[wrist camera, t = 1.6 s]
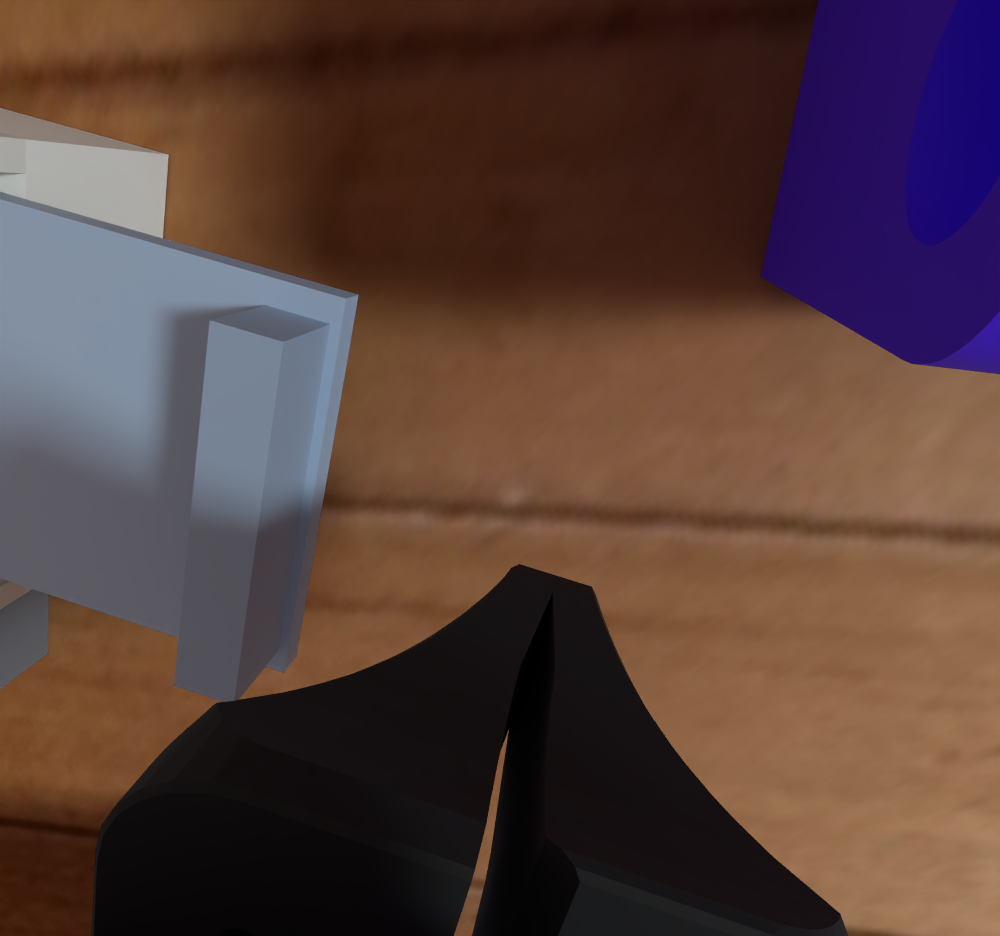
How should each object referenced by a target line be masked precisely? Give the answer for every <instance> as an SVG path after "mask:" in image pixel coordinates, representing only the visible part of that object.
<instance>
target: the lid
mask: <svg viewBox="0 0 1000 936" xmlns="http://www.w3.org/2000/svg"><path fill="white" fill-rule="evenodd" d="M357 301H358V294H355V293H351V292H348V291H344V290H341V289H337V288H334V287H330V286H327V285H323V284H320V283H316V282H313V281H309V280H306V279H302V278H299V277H295V276H292V275H288V274H285V273H281V272H278V271H274V270H271V269H268V268H264V267H261V266H257V265H254V264H250V263H247V262H243V261H240V260H236V259H233V258H229V257H226V256H222V255H219V254H215V253H212V252H208V251H205V250H201V249H198V248H194V247H191V246H187V245H184V244H180V243H177V242H173V241H170V240H166V239H163V238H159V237H156V236H152V235H149V234H146V233H142V232H139V231H135V230H132V229H128V228H125V227H121V226H118V225H114V224H111V223H107V222H104V221H100V220H97V219H93V218H90V217H86V216H83V215H79V214H76V213H72V212H69V211H65V210H62V209H58V208H55V207H51V206H48V205H44V204H41V203H37V202H34V201H30V200H27V199H24V198H20V197H17V196H13V195H10V194H6V193H3V192H0V578H1V579H4V580H7V581H10V582H13V583H16V584H19V585H22V586H25V587H28V588H31V589H34V590H37V591H40V592H43V593H46V594H49V595H52V596H55V597H58V598H61V599H64V600H67V601H70V602H73V603H76V604H79V605H82V606H85V607H88V608H91V609H94V610H97V611H100V612H103V613H106V614H109V615H112V616H115V617H118V618H121V619H124V620H127V621H130V622H133V623H136V624H139V625H142V626H145V627H148V628H151V629H154V630H157V631H160V632H163V633H166V634H169V635H172V636H175V637H178V638H179V640H178V650H177V661H176V671H175V681H174V686H177V687H180V688H183V689H186V690H189V691H192V692H195V693H198V694H201V695H204V696H207V697H210V698H213V699H216V700H219V701H222V702H228V701H235V700H239V698H240V697H241V696H242V695H243V693H244V692H245V691H246V690H247V689H248V687H249V686H250V685H251V684H252V682H253V681H254V680H255V679H256V677H257V676H258V675H259V674H260V673H261V671H262V670H263V669H264V668H265V667H268V668H271V669H274V670H277V671H280V672H283V673H284V672H285V671H286V669H287V668H288V667H289V666H290V664H291V663H292V662H293V660H294V659H295V658H296V656H297V650H298V644H299V638H300V632H301V626H302V621H303V615H304V609H305V603H306V597H307V592H308V586H309V580H310V574H311V568H312V563H313V557H314V551H315V545H316V539H317V534H318V528H319V522H320V516H321V510H322V505H323V499H324V493H325V487H326V481H327V475H328V470H329V464H330V458H331V452H332V446H333V441H334V435H335V429H336V423H337V417H338V412H339V406H340V400H341V394H342V388H343V383H344V377H345V371H346V365H347V359H348V353H349V348H350V342H351V336H352V330H353V324H354V319H355V313H356V307H357Z"/></svg>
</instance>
